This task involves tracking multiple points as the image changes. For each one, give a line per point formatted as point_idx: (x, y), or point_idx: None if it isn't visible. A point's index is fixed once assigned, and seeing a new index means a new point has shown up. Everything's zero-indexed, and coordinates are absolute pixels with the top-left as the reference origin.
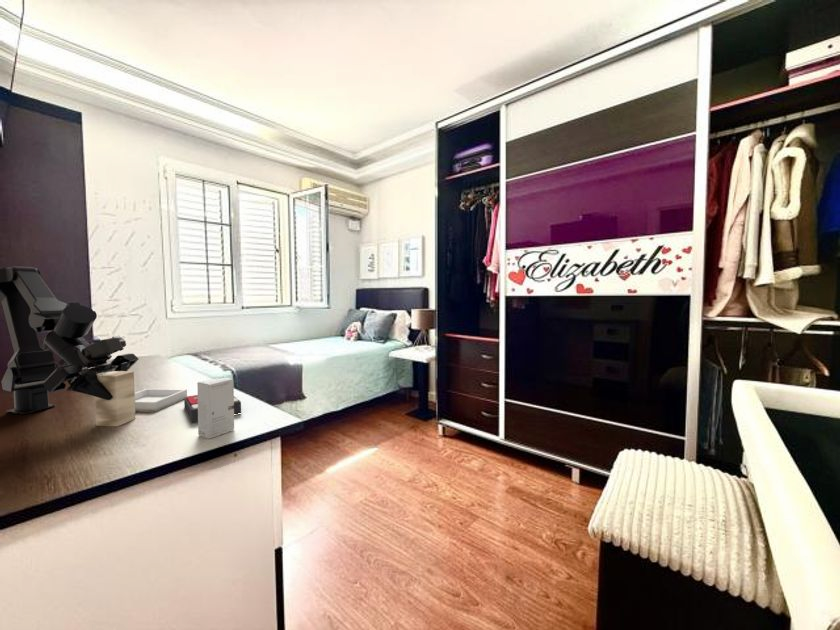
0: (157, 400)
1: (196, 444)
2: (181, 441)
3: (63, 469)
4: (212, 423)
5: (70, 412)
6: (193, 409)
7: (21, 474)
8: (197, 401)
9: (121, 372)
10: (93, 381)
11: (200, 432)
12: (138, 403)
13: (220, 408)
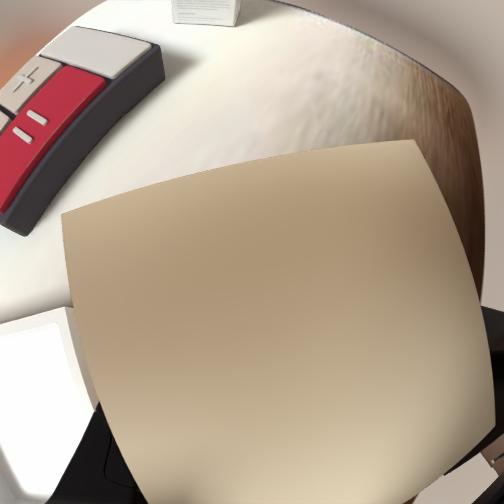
0: (41, 323)
1: (267, 16)
2: (269, 35)
3: (436, 129)
4: None
5: None
6: (152, 47)
7: (473, 178)
8: (75, 88)
9: (216, 350)
10: (498, 314)
11: (236, 16)
12: (92, 398)
13: None
